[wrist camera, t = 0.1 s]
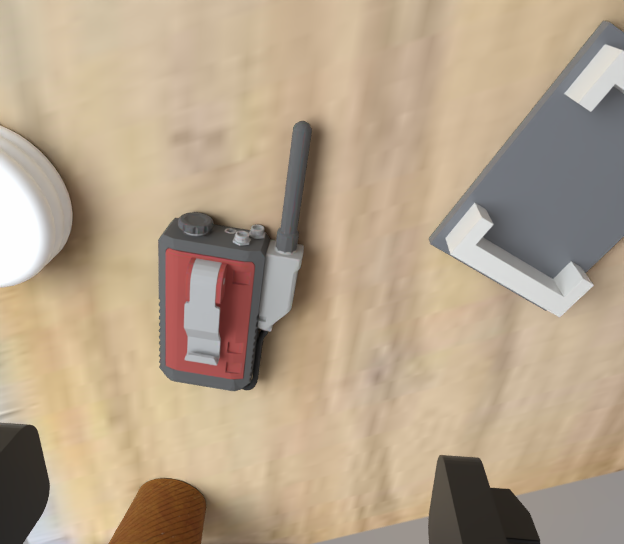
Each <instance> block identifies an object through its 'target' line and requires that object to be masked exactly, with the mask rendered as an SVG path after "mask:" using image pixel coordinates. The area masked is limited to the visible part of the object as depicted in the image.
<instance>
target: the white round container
mask: <svg viewBox="0 0 624 544" xmlns="http://www.w3.org/2000/svg"><path fill="white" fill-rule="evenodd" d="M72 222H73V212H72V204H71V200H70V197H69V193H68V191H67V188H66V186H65V184H64V182H63V180H62V178H61V176H60V175H59V173H58V172H57V170H56V169H55V167H54V166H53V165H52V164H51V162H50V161H49V160H48V159H47V158H46V157H45V156H44V155H43V153H42V152H41V151H40V150H39V149H37V148H36V147H35V146H34V145H33V144H31V143H30V142H29V141H28V140H26V139H25V138H23V137H22V136H20V135H19V134H17V133H15V132H13V131H11V130H10V129H7V128H5V127H3V126H0V287H8V286H14V285H17V284H19V283H22V282H25V281H27V280H28V279H30V278H32V277H34V276H35V275H36V274H38V273H39V272H40V271H41V270H42V269H43V268H44V266H45V265H47V264H48V263H49V262H50V261H51V260H52V259H53V258H54V257H55V256H56V255H57V254H58V253H59V252H60V251H61V250H62V249H63V247H64V245H65V244H66V242H67V240H68V237H69V234H70V232H71V227H72Z"/></svg>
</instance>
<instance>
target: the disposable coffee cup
mask: <svg viewBox="0 0 624 544" xmlns="http://www.w3.org/2000/svg"><path fill="white" fill-rule="evenodd" d="M205 511H206V502H205V499H204V497H203V495H202V494H201V493H200V492H199V491H198V490H197V489H195V488H194V487H192V486H190V485H189V484H187V483H184V482H182V481H178V480H174V479H154V480H151V481H148V482H147V483H145V484H143V485H142V486H141V488H140V489H139V491H138V493H137V495H136V497H135V498H134V500H133V502H132V504H131V506H130V507H129V509H128V511H127V513H126V514H125V516H124V518H123V520H122V521H121V523H120V525H119V526H118V528H117V529H116V531H115V533H114V535H113V537H112V539H111V540H110V542H109V544H201V538H202V531H203V524H204V518H205Z"/></svg>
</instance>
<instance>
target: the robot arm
mask: <svg viewBox="0 0 624 544" xmlns="http://www.w3.org/2000/svg"><path fill="white" fill-rule="evenodd" d="M49 490H50V483H49V478H48V473H47V469H46V465H45V460H44V456H43V451H42V447H41V443H40V438H39V434H38V431H37V429H36V428H35V427H34V426H33V425H26V424H12V423H0V544H23V542H24V541H25V539H26V538H27V536H28V535H29V533H30V532H31V530H32V529H33V527H34V526H35V524H36V523H37V521H38V520H39V518H40V517H41V515H42V513H43V511H44V509H45V507H46V504H47V501H48V497H49ZM428 529H429V544H540V539H539V536H538V533H537V531H536V528H535V526H534V523H533V520H532V518H531V515H530V513H529V512H528V510H527V509H526V508H525V507H524V506H523V505H522V503H521V502H520V501H519V500H518V499H517V497H516V496H515V495H514V494H513V493H512V492H511V490H510V489H500V488H490V486H489V483H488V479H487V476H486V473H485V470H484V467H483V464H482V461H481V460H480V458H475V457H460V456H446V455H440V456H439V457H438V461H437V466H436V472H435V479H434V485H433V491H432V498H431V504H430V511H429V525H428Z"/></svg>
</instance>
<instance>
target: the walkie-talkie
mask: <svg viewBox="0 0 624 544" xmlns="http://www.w3.org/2000/svg"><path fill="white" fill-rule="evenodd" d="M311 133H312V128H311V126H310V124H309V123H307V122H305V121H300V122H298V123H296V124H295V126H294V127H293V134H292V142H291V150H290V158H289V166H288V174H287V181H286V189H285V197H284V205H283V213H282V221H281V228H279V229H278V231H277V239H276V240H270V238H269V237H268V235H267V233H266V232H264V227H263V226H262V225H258V224H257V225H252V227H251V230H244V229H238V228H232V227H227V226H221V225H215V224H213V220H212V218H211V217H209V216H208V215H206V214H203V213H198V212H193V213H186V214H184V215H182V216H181V217H180V218H175V219H174V220H173V221H172V222H171V223H170V224H169V226H168V227H167V228H166V230H165V231H164V233H163V234H162V235H161V237H160V238H159V240H158V251H159V299H160V303H159V306H160V310H159V313H160V316H159V319H160V323H159V326H160V329H159V332H160V336H159V338H160V342H159V345H160V348H159V351H160V355H159V357H160V358H161V359H160V361H159V363H160V366H159V367H160V369H161V370H162V371H163V373H164V374H165V375H166V376H167V378H169V379H170V380H172V381H175V382H181V383H187V384H193V385H199V386H205V387H211V388H217V389H223V390H229V391H237V390H240V389H244V390H251V389H253V388H254V387H255V385H256V383H257V380H258V375H259V367H260V359H261V351H262V344H263V339H264V337H265V336H266V335H267V334H268V331H271V330H272V326H273V324H274V323H275V322H277V321H278V320H279V319H280V318H282V317H283V316H284V315H286V314H287V313H288V312H289V311H290V310H291V308H292V303H293V298H294V292H295V286H296V280H297V274H298V270H299V269H300V268H301V263H302V258H303V251H304V246H303V245H300V244H297V243H298V236H299V232H298V231H297V227H298V220H299V214H300V207H301V200H302V194H303V187H304V180H305V174H306V167H307V160H308V154H309V147H310V140H311ZM259 329H262V330H261V331H260V333H259ZM252 374H253V378H252ZM251 378H252V380H251Z"/></svg>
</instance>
